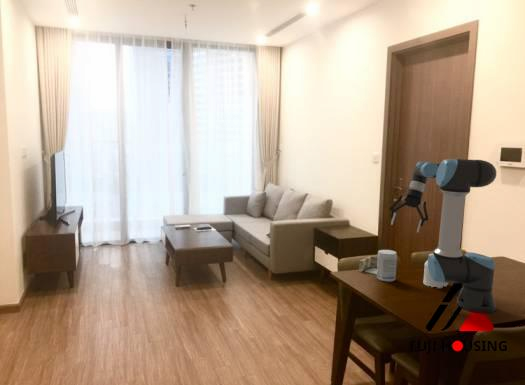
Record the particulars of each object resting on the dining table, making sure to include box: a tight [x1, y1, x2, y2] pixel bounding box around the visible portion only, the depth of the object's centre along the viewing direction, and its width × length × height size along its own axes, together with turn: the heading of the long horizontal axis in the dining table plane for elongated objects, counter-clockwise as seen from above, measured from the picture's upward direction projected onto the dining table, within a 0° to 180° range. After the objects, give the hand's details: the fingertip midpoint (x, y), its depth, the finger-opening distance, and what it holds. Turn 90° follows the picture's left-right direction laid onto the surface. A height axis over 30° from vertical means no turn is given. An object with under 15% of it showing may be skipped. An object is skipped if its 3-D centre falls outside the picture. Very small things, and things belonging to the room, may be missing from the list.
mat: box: [364, 267, 377, 275], centre depth 233 cm, size 10×10×1 cm
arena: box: [358, 255, 378, 273], centre depth 234 cm, size 14×14×6 cm
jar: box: [422, 253, 449, 289], centre depth 214 cm, size 12×10×15 cm
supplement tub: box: [376, 249, 398, 283], centre depth 220 cm, size 10×10×15 cm
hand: (404, 228), depth 224 cm, fingers open, 13 cm apart
